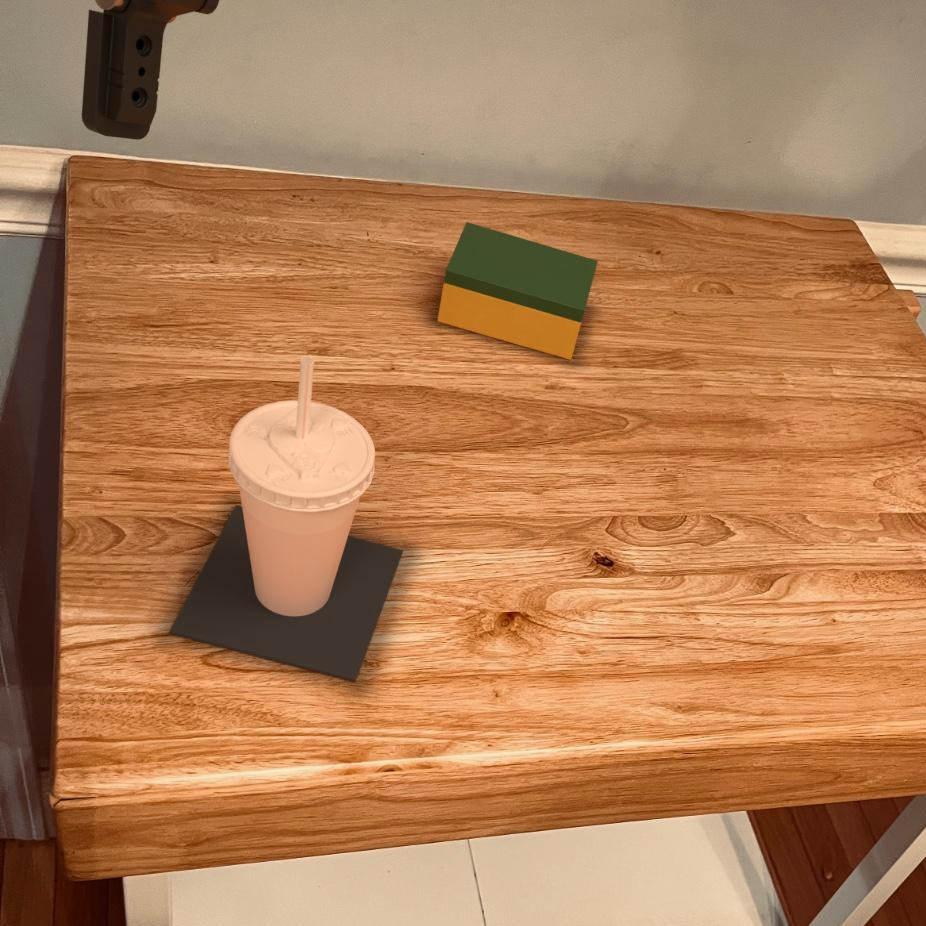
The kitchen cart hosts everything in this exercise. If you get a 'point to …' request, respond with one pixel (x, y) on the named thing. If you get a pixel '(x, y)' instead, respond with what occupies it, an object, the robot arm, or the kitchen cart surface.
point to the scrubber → (516, 290)
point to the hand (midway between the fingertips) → (35, 105)
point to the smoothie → (299, 494)
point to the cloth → (289, 637)
